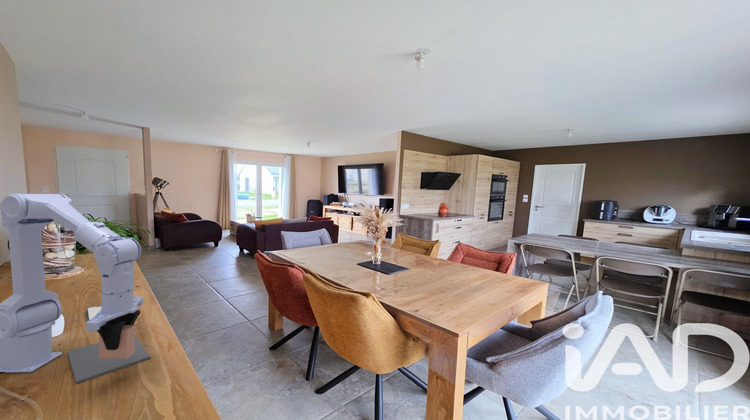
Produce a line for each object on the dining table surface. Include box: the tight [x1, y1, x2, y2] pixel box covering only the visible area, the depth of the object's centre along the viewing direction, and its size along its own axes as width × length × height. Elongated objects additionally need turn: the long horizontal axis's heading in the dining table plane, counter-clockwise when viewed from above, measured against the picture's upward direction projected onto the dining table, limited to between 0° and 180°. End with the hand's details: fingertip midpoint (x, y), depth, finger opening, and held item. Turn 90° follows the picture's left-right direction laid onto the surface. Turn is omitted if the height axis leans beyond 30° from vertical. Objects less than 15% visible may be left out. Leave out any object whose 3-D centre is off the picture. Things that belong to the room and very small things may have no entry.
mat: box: [67, 335, 151, 385], centre depth 77 cm, size 18×14×1 cm
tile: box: [98, 324, 136, 359], centre depth 67 cm, size 6×3×7 cm, turn 97°
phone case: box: [85, 305, 101, 322], centre depth 99 cm, size 9×2×16 cm
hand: (117, 345), depth 68 cm, fingers closed on tile, 2 cm apart
